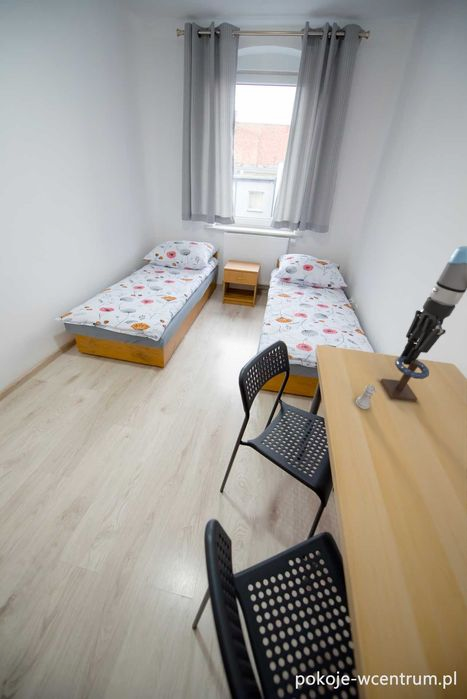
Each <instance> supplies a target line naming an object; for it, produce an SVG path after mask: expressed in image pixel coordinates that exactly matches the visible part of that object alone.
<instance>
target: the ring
mask: <svg viewBox="0 0 467 699" xmlns="http://www.w3.org/2000/svg"><path fill="white" fill-rule="evenodd" d="M400 356H401V355H400ZM400 356H398V357H396V358H395V362H394V366H395V367H396V368H397V370H398V371H399V372H401V373H402V374H405V375H407V376H409V377H411V379H416V380H424V379H426V378H428V377H429V376H430V369H429V367H428V366H426V364H425V363H423V362H422V361H420V360H419V359H418V358H417V359H416V361H418V362H419V363H420V364H419V366H418V367H417V369H419V370H420V371H421V372H416V371H415V372H414V371H411V370H409V369H407V368H408V367H406V366H405V364H404V361H405V359H406V358H407V357H405V356H401V357H400Z"/></svg>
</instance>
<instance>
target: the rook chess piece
mask: <svg viewBox="0 0 467 699" xmlns="http://www.w3.org/2000/svg"><path fill="white" fill-rule="evenodd" d="M376 392H377V391H376V386H374V385H373V384H372V385H371V384H368V385H366V386H365V387H364V390H363V394H362V395H360V396H358V397H357V398H356V400H355V404H356V406H357V407H358V408H360V409H362V410H367V409H369V408H370V407H371V398H372V396H374V394H375V393H376Z"/></svg>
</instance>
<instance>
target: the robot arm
mask: <svg viewBox="0 0 467 699" xmlns="http://www.w3.org/2000/svg"><path fill="white" fill-rule="evenodd" d="M466 291H467V245H462V246H459V247H456V249H455V250H454V252H453V253H452V255H451V256H450V258H449V259H448V260H447V263H446V264H445V266H444V268H443V270H442V272H441V274H440V275H439V277H438V279H437V280H436V283H435V285H434V286H433V288H432V290H431V292H430V293H429V297H427V298H426V300H425V302H424V304H423V305H422V309H423V310H416V311H415V313H414V317H413V319H412V322H411V324H410V327H409V328H408V331H407V332H406V335H405V338H407V343H406V344H405V346H404V348H403V351H402V352H401V354H400V356H399V357H401V356H405V357H407V358H406V359H405V361H404V362H403V365H404V366H405V365H406V366H409V364H410V363H411V361H412V360H416V359H417V360H418V358H419V357H420V355H421V353H424V354H428V352H430V350H431V349H432V348H433V346H434V345H435V344H436V342H437V341H438V340H439V339H440V337H441V336H443V335H445V334H446V331H447V330H446V329H444V328H443V326H442V325H443V323H444V320H445V319H446V318H448V317H450V316H451V315H452V313H453V311H455V308H456V305H458V304H459V302H460V301H461V299H462V298H463V296H464V295H465V294H466Z"/></svg>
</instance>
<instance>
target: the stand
mask: <svg viewBox="0 0 467 699" xmlns="http://www.w3.org/2000/svg"><path fill="white" fill-rule="evenodd" d="M419 364H420V363H419V362H418V361H416V360H412V361H411V363H410V364H409V365H407V367H406V368H407V369H409V370H411V371H414V372H416V370H417V369H418V366H419ZM411 379H412V377H409V376H407V375H405V374H404V373H402V375H401V377H400V379H399V380H398V379H388V378H381V379H380V384H381V385H382V387H383V389H384V390H385V392H386V394H387V395H388V397H389V399H390V400H396V401H397V400H398V401H405V402H415V403H416V402H417V400H418V397H417V396H416V394H415V392H414V391H413V390H412V388H411V386H410V385H409V384H408V383H409V381H410V380H411Z"/></svg>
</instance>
